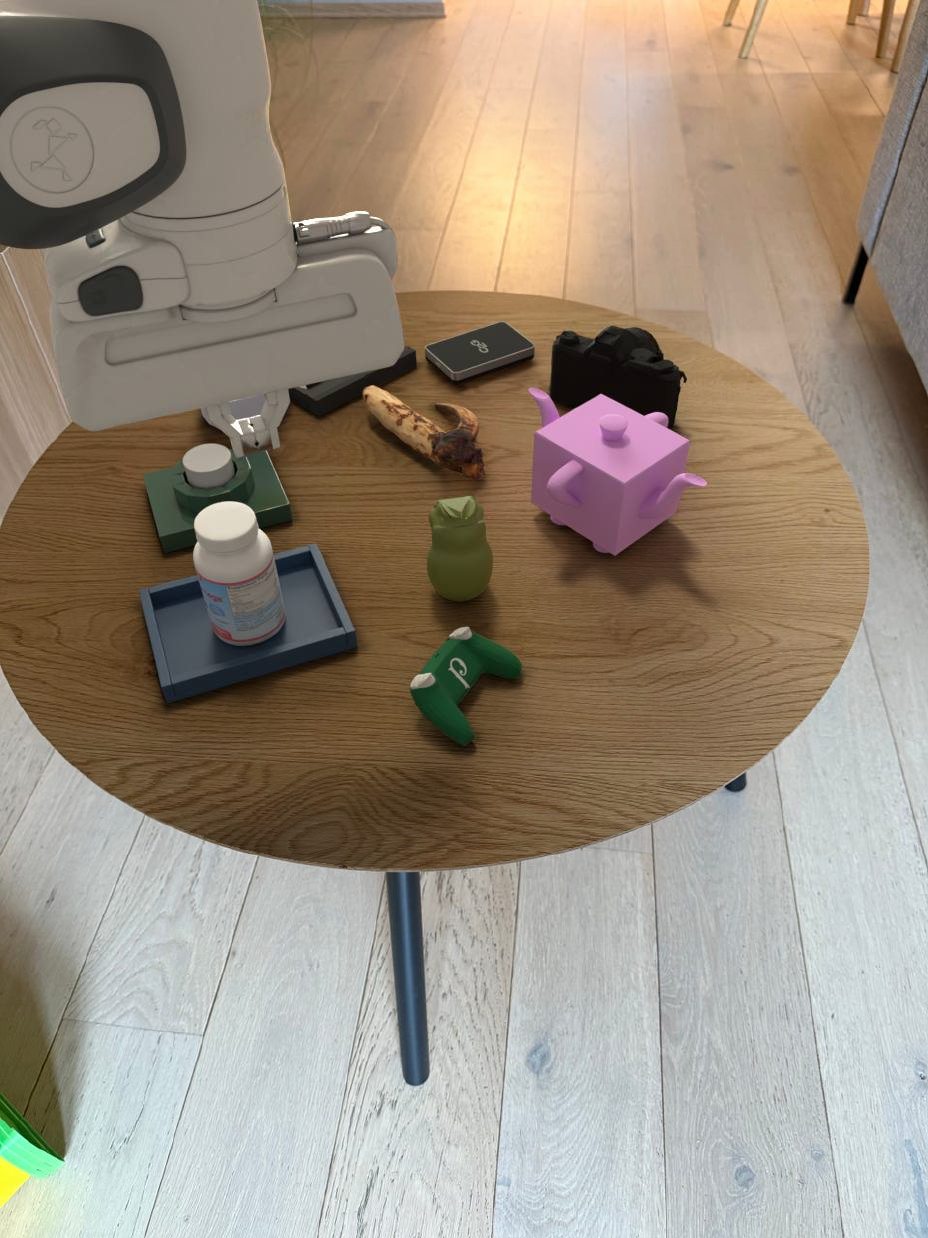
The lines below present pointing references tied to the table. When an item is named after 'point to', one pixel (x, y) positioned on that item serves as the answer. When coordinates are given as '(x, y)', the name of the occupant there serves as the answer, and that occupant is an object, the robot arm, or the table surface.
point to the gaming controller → (459, 679)
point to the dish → (208, 663)
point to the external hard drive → (479, 352)
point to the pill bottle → (237, 574)
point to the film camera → (615, 371)
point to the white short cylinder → (208, 466)
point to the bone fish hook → (431, 432)
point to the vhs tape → (348, 385)
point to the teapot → (608, 470)
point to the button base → (214, 498)
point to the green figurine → (459, 549)
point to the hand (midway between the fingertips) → (256, 447)
